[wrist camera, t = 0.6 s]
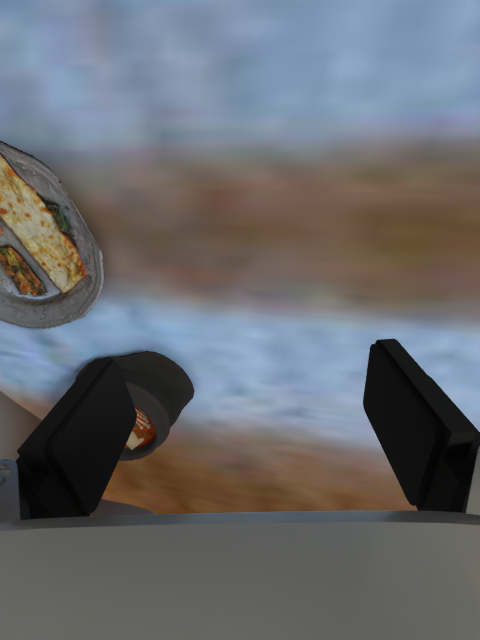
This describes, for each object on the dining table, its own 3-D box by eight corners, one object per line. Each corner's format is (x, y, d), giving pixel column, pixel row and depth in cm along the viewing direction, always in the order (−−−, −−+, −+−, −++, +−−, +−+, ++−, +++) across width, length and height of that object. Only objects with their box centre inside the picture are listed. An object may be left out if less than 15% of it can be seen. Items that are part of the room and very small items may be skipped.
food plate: (-125, 179, 35) (-160, 180, 32) (23, 100, 31) (-1, 93, 28) (14, 337, 47) (-2, 349, 44) (137, 294, 43) (128, 304, 39)
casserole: (146, 321, 44) (124, 351, 36) (217, 396, 51) (212, 435, 43) (47, 388, 51) (12, 425, 44) (121, 446, 58) (102, 487, 50)
